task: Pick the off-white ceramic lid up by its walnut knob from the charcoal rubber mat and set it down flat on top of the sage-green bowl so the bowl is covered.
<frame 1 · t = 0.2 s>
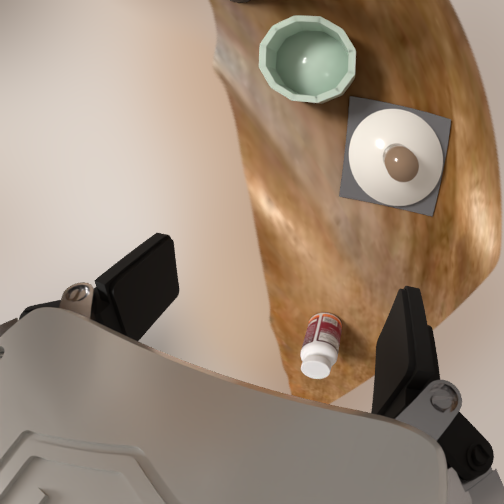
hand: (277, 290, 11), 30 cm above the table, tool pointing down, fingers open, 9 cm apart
bowl: (313, 63, 30), on the table
lid: (396, 157, 32), resting on mat
pill bottle: (326, 323, 50), on the table
mat: (396, 156, 33), on the table
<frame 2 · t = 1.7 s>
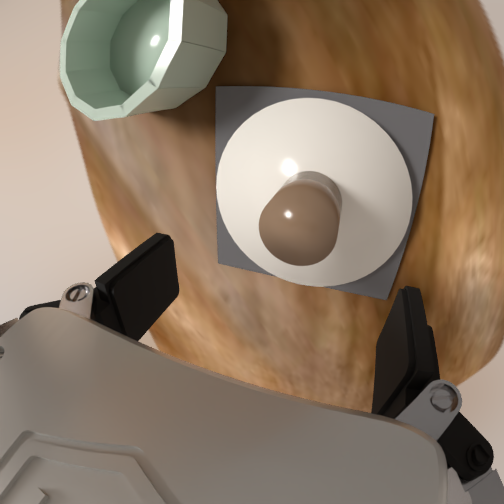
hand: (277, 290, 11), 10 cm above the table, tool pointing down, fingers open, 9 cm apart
bowl: (160, 43, 16), on the table
lid: (312, 196, 18), resting on mat
mat: (313, 194, 19), on the table
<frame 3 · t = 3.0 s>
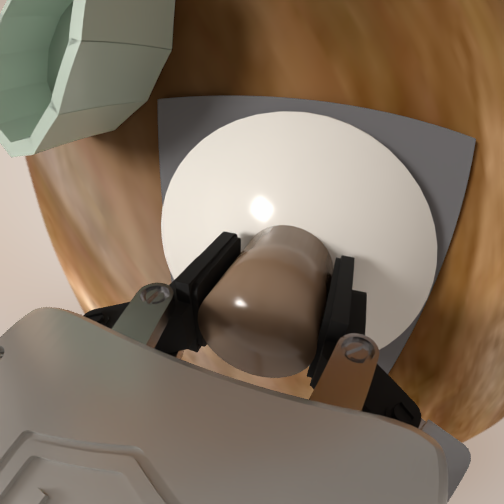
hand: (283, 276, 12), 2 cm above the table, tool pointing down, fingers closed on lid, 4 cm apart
bowl: (97, 46, 11), on the table
lid: (292, 256, 13), resting on mat, touching gripper
mat: (294, 252, 14), on the table
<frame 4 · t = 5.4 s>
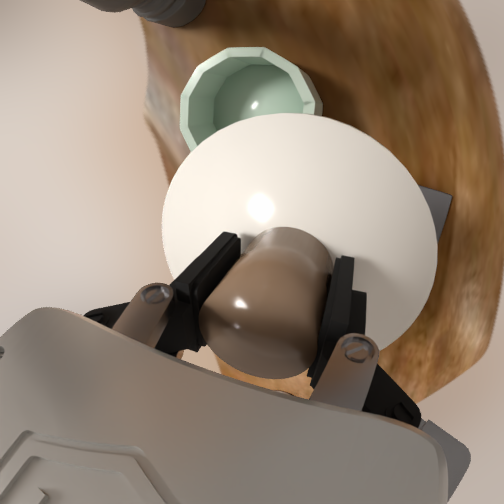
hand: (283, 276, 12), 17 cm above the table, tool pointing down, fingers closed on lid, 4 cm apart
candle holder: (181, 4, 21), on the table
bowl: (262, 112, 25), on the table
lid: (293, 258, 13), point 15 cm above the table, touching gripper
mat: (368, 243, 27), on the table
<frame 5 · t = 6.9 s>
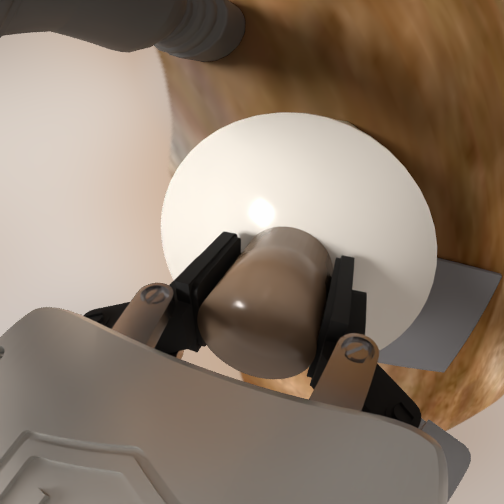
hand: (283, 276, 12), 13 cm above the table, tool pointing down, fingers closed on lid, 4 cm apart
candle holder: (211, 29, 18), on the table
lid: (292, 257, 13), point 11 cm above the table, touching gripper
mat: (418, 318, 24), on the table
when the fingers open (9 cm above the table, at t = 7.9 s): lid drops 2 cm, resting on bowl.
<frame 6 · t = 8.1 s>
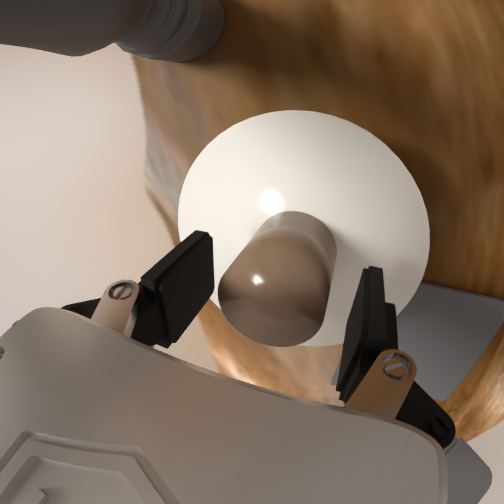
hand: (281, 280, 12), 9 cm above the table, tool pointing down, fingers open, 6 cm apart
candle holder: (188, 25, 15), on the table
lid: (299, 241, 15), point 5 cm above the table, touching bowl
mat: (420, 349, 21), on the table
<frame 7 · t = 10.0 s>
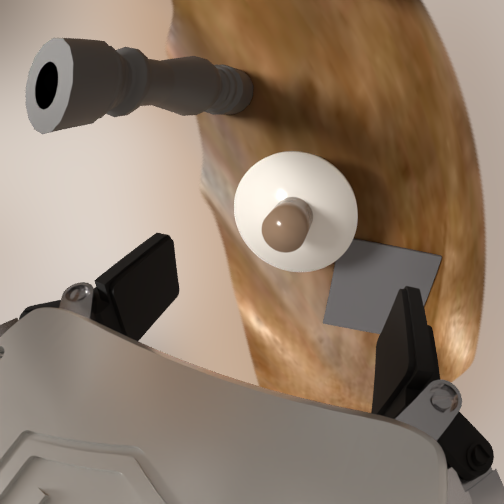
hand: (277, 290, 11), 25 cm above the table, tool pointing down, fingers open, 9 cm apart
candle holder: (230, 91, 31), on the table
lid: (295, 212, 30), point 5 cm above the table, touching bowl
mat: (380, 292, 36), on the table
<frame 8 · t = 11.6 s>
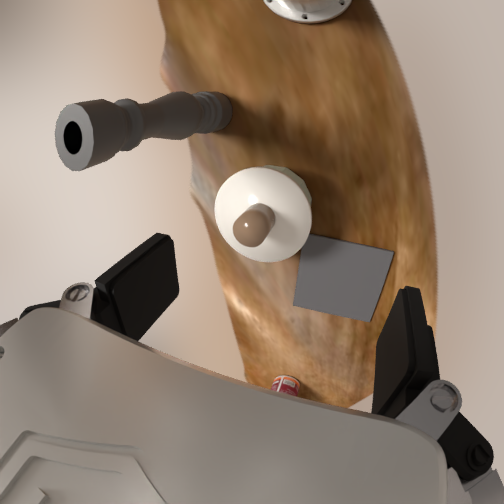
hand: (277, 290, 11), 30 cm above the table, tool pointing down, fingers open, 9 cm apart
candle holder: (213, 111, 38), on the table
lid: (262, 215, 38), point 5 cm above the table, touching bowl
pill bottle: (287, 381, 62), on the table
mat: (340, 280, 44), on the table
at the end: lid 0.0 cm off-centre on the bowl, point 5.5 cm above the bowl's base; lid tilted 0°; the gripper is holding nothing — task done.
